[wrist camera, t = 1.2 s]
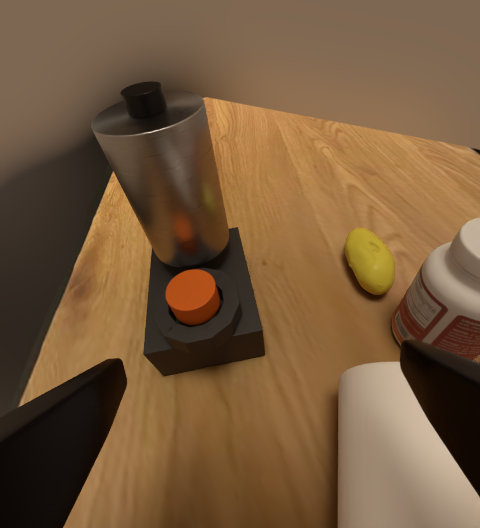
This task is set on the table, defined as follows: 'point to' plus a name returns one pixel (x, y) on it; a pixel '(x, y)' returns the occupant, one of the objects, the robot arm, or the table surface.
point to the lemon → (370, 261)
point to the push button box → (213, 331)
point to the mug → (395, 458)
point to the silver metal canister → (167, 170)
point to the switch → (193, 297)
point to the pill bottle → (445, 297)
